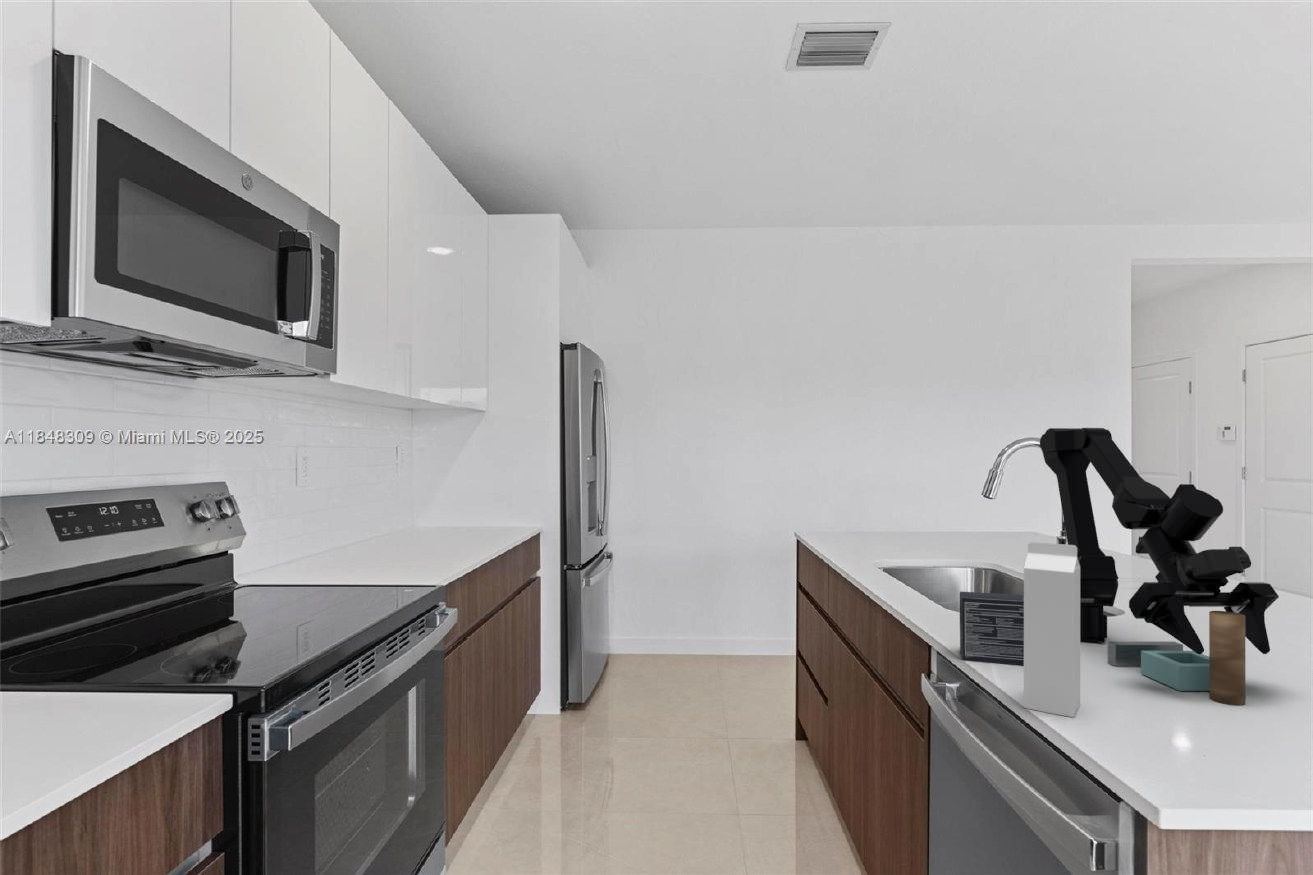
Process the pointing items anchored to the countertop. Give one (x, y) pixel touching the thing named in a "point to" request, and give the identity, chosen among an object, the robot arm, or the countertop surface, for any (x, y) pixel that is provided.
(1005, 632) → the small box
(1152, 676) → the teal square frame
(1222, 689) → the dowel
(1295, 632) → the countertop surface
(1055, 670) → the milk
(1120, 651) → the bar
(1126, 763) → the countertop surface
